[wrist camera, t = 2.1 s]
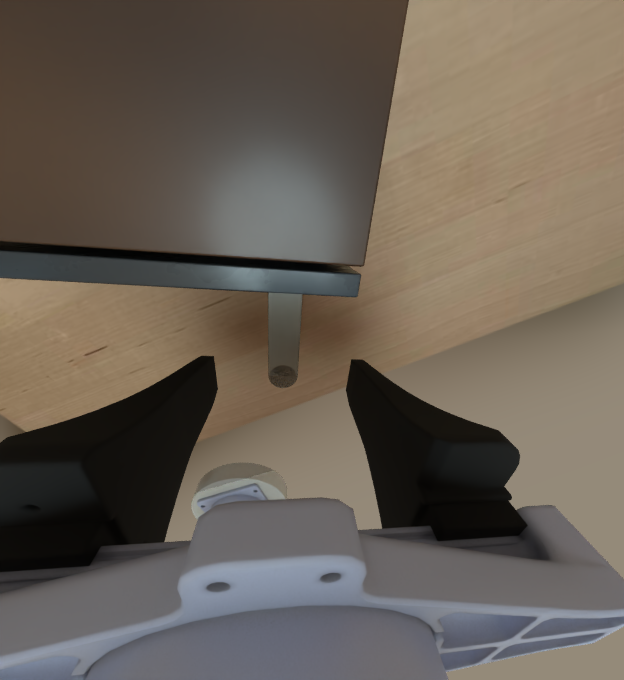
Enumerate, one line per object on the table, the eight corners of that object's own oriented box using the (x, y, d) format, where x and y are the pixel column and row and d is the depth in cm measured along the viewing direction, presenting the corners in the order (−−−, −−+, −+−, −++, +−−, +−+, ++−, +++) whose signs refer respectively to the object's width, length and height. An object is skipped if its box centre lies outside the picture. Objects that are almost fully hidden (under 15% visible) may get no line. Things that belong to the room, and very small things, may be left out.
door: (316, 329, 19) (338, 412, 10) (104, 321, 17) (-78, 414, 8) (324, 249, 16) (361, 274, 8) (73, 230, 14) (-232, 234, 6)
